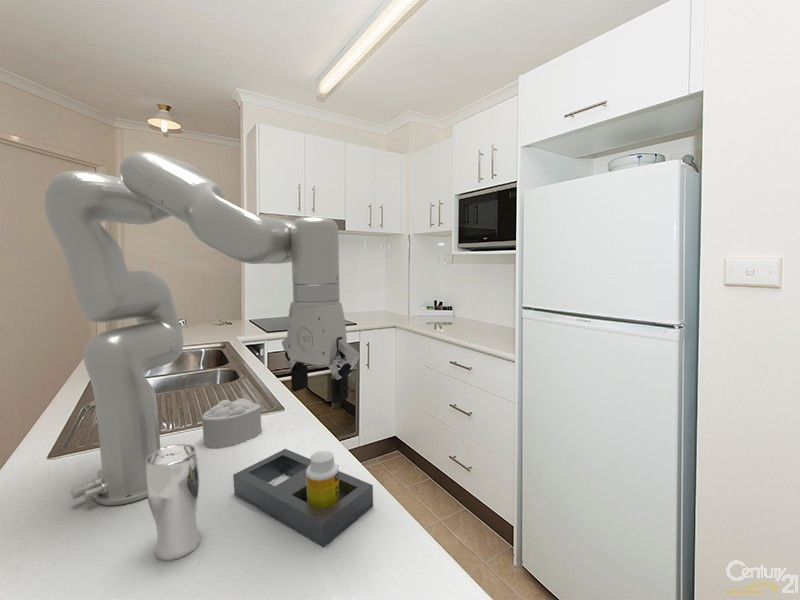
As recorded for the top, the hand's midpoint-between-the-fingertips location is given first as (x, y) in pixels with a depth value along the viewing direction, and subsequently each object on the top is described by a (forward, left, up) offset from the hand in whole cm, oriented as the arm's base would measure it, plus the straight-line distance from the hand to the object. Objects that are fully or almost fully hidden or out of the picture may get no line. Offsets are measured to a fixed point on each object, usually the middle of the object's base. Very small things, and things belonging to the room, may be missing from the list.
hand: (319, 394), depth 66 cm
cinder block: (0, +6, -21) cm, 22 cm away
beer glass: (-18, +13, -21) cm, 31 cm away
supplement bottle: (0, 0, -21) cm, 21 cm away
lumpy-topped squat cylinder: (+8, +41, -22) cm, 47 cm away
